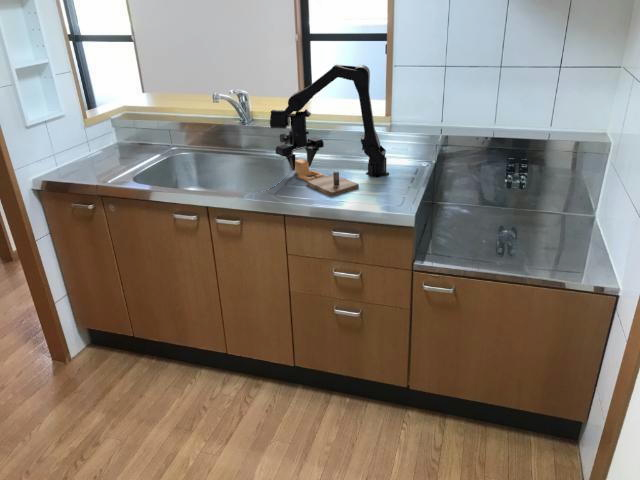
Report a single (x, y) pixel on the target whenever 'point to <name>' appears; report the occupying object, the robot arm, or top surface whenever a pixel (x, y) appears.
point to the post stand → (332, 184)
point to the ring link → (305, 170)
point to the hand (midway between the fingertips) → (301, 168)
